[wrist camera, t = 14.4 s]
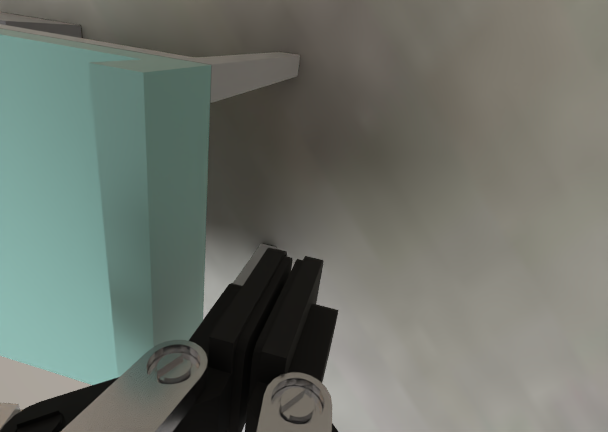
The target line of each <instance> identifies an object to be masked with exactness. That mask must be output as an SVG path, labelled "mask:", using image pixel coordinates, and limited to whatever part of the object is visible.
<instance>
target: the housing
mask: <svg viewBox="0 0 608 432" xmlns="http://www.w3.org/2000/svg"><path fill="white" fill-rule="evenodd" d="M0 29H6V30H12V31H17V32H23V33H29V34H35V35H41V36H46V37H52V38H58V39H64V40H69V41H75V42H81V43H87V44H93V45H98V46H104V47H110V48H116V49H122V50H127V51H133V52H139V53H145V54H150V55H156V56H162V57H168V58H174V59H179V60H185V61H191V62H197V63H203V64H208V65H211V88H210V103H213V102H216V101H219V100H222V99H226V98H229V97H232V96H235V95H239V94H242V93H245V92H248V91H252V90H255V89H258V88H261V87H265V86H268V85H271V84H274V83H277V82H281V81H284V80H287V79H290V78H294V77H297V76H298V70H299V62H300V55H297V54H291V53H285V52H270V53H255V54H240V55H224V56H209V57H189V56H183V55H177V54H172V53H166V52H160V51H154V50H148V49H142V48H136V47H131V46H125V45H119V44H113V43H107V42H101V41H96V40H90V39H84V38H82V33H81V25H76V24H70V23H64V22H58V21H52V20H46V19H40V18H34V17H28V16H22V15H16V14H10V13H4V12H0ZM267 248H273V249H276V248H277V247H274V246H269V245H265V244H260V246H259V247H258V249H257V250H256V251H255V253H254V254H253V256H252V257H251V258H250V260H249V261H248V263H247V264H246V265H245V267H244V268H243V270H242V271H241V273H240V274H239V275H238V277H237V278H236V280H235V281H234V282H233V284H237V285H241V286H243V284H244V283H245V281H246V280H247V278H248V277H249V275H250V274H251V272H252V271H253V269H254V268H255V266H256V265H257V263H258V262H259V260H260V259H261V257H262V256H263V254H264V253H265V251H266V250H267Z"/></svg>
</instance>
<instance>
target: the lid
mask: <svg viewBox="0 0 608 432" xmlns="http://www.w3.org/2000/svg"><path fill="white" fill-rule="evenodd" d="M210 88H211V65H208V64H203V63H197V62H191V61H185V60H179V59H174V58H168V57H162V56H156V55H150V54H145V53H139V52H133V51H127V50H122V49H116V48H110V47H104V46H98V45H93V44H87V43H81V42H75V41H69V40H64V39H58V38H52V37H46V36H41V35H35V34H29V33H23V32H17V31H12V30H6V29H0V356H3V357H7V358H9V359H12V360H16V361H19V362H22V363H25V364H29V365H31V366H35V367H38V368H41V369H44V370H47V371H50V372H54V373H56V374H60V375H63V376H66V377H69V378H72V379H75V380H79V381H82V382H85V383H88V384H91V385H95V384H98V383H102V382H105V381H108V380H111V379H114V378H117V377H120V376H121V375H122V374H123V373H125V372H126V371H127V370H128V369H129V368H130V367H131V366H132V365H133V364H134V363H135V362H136V361H138V360H139V359H140V358H141V357H142V356H143V355H144V354H145V353H146V352H147V351H149V350H150V349H151V348H153V347H154V346H156V345H158V344H160V343H163V342H165V341H171V340H187V341H189V339H190V338H191V336H192V335H193V334H194V332H195V331H196V329H197V328H198V327H199V325H200V324H201V322H202V321H203V302H204V272H205V241H206V210H207V180H208V149H209V119H210Z"/></svg>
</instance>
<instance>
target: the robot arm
mask: <svg viewBox="0 0 608 432" xmlns="http://www.w3.org/2000/svg"><path fill="white" fill-rule="evenodd" d="M291 266H292V258H290V257H287V252H286V251H282V250H277V249H273V248H267V250H266V251H265V253H264V254H263V256H262V257H261V259H260V260H259V262H258V263H257V265H256V266H255V268H254V269H253V271H252V272H251V274H250V275H249V277H248V278H247V280H246V281H245V283H244V284H243V286H241V285H237V284H233V283H231V284H229V285H228V287H227V288H226V289H225V291H224V292H223V293H222V295H221V296H220V298H219V299H218V300H217V302H216V303H215V304H214V306H213V307H212V309H211V310H210V311H209V313H208V314H207V316H206V317H205V318H204V320H203V321H202V322H201V324H200V325H199V327H198V328H197V329H196V331H195V332H194V334H193V335H192V336H191V338H190V339H189V341H187V340H171V341H165V342H163V343H160V344H158V345H156V346H154V347H153V348H151V349H150V350H149V351H147V352H146V353H145V354H144V355H143V356H142V357H141V358H140V359H139V360H138V361H136V362H135V363H134V364H133V365H132V366H131V367H130V368H129V369H128V370H127V371H126V372H125V373H123V374H122V375H121V376H120V377H117V378H114V379H111V380H108V381H105V382H102V383H98V384H95V385H92V386H89V387H86V388H83V389H80V390H77V391H73V392H70V393H67V394H64V395H60V396H57V397H54V398H51V399H48V400H44V401H41V402H39V403H36V404H34V405H31V406H29V407H27V408H25V409H24V410H20V408H19V405H18V404H11V403H0V432H242V430H243V427H244V425H245V423H246V425H245V432H338V431H337V429H336V428H335V426H334V425H333V424H332V401H331V396H330V394H329V392H328V390H327V388H326V387H325V386H324V385H323V384H322V381H323V377H324V373H325V369H326V364H327V360H328V356H329V351H330V347H331V343H332V338H333V334H334V329H335V324H336V319H337V315H338V310H335V309H331V308H328V307H324V306H320V305H316V301H317V295H318V290H319V284H320V279H321V273H322V268H323V260H320V259H316V258H311V257H307V256H305V257H304V259H303V260H299V259H297V260H296V262H295V264H294V266H293V268H292V270H291Z"/></svg>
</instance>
